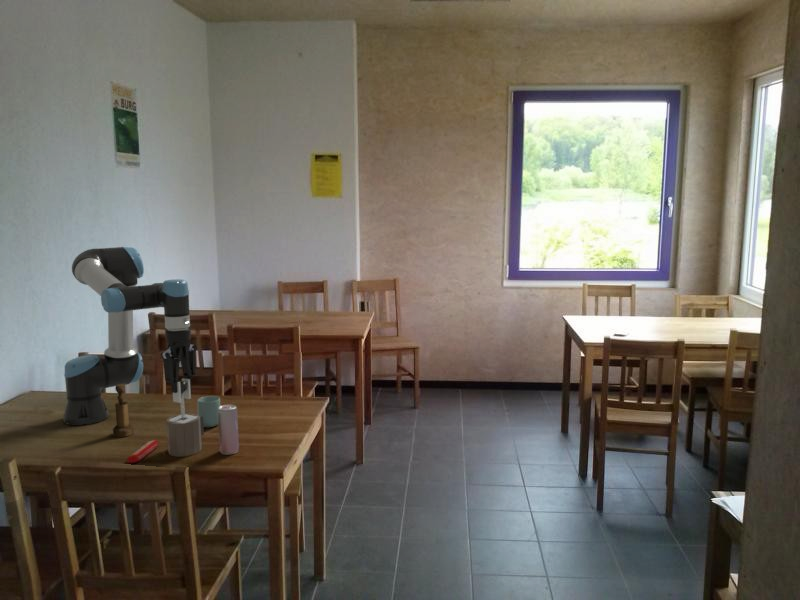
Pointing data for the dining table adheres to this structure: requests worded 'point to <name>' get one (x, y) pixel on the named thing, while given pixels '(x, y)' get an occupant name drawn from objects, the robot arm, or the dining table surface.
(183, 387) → the joystick
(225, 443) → the beverage can
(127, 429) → the mortar and pestle
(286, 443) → the dining table surface
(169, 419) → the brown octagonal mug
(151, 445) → the candy bar
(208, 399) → the cup
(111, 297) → the robot arm
